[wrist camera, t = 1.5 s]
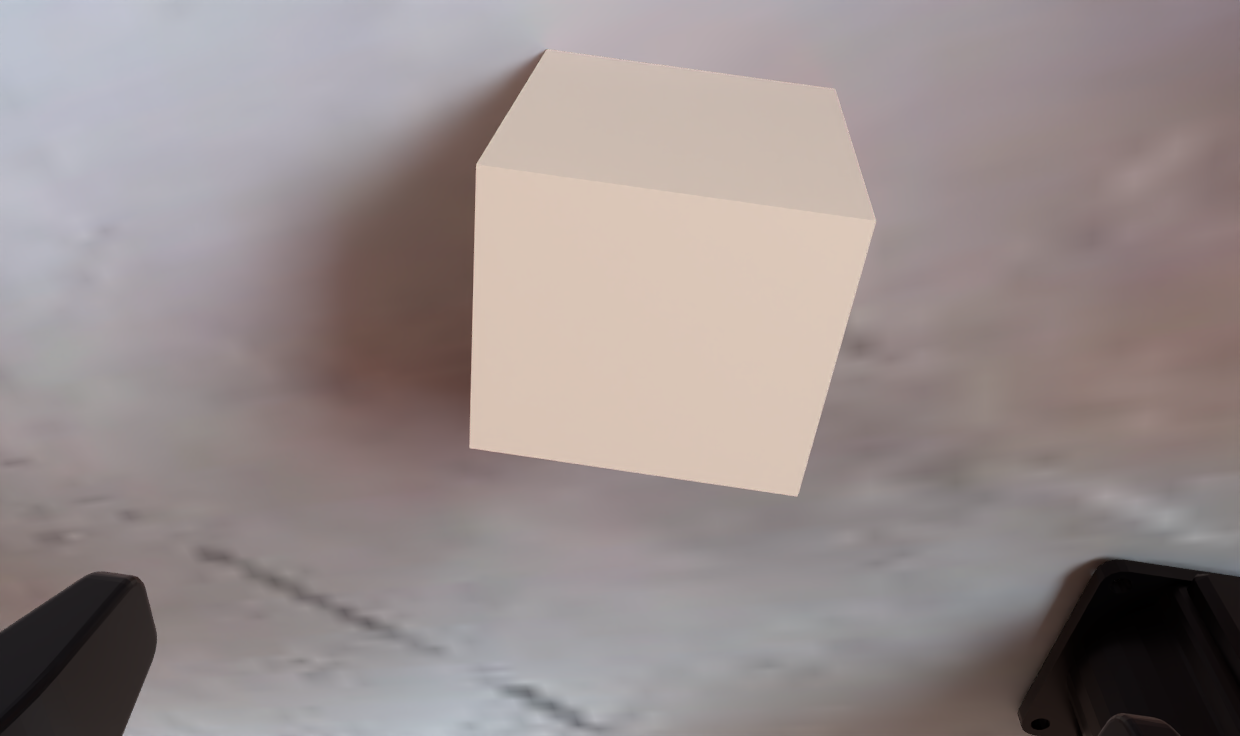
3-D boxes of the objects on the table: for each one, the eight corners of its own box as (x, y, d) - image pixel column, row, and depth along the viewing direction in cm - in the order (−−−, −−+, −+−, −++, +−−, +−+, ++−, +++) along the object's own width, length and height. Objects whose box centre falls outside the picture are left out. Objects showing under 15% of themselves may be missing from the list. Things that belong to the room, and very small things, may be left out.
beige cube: (774, 345, 21) (787, 531, 16) (530, 310, 21) (468, 484, 16) (834, 87, 18) (876, 220, 13) (547, 47, 18) (476, 164, 13)
